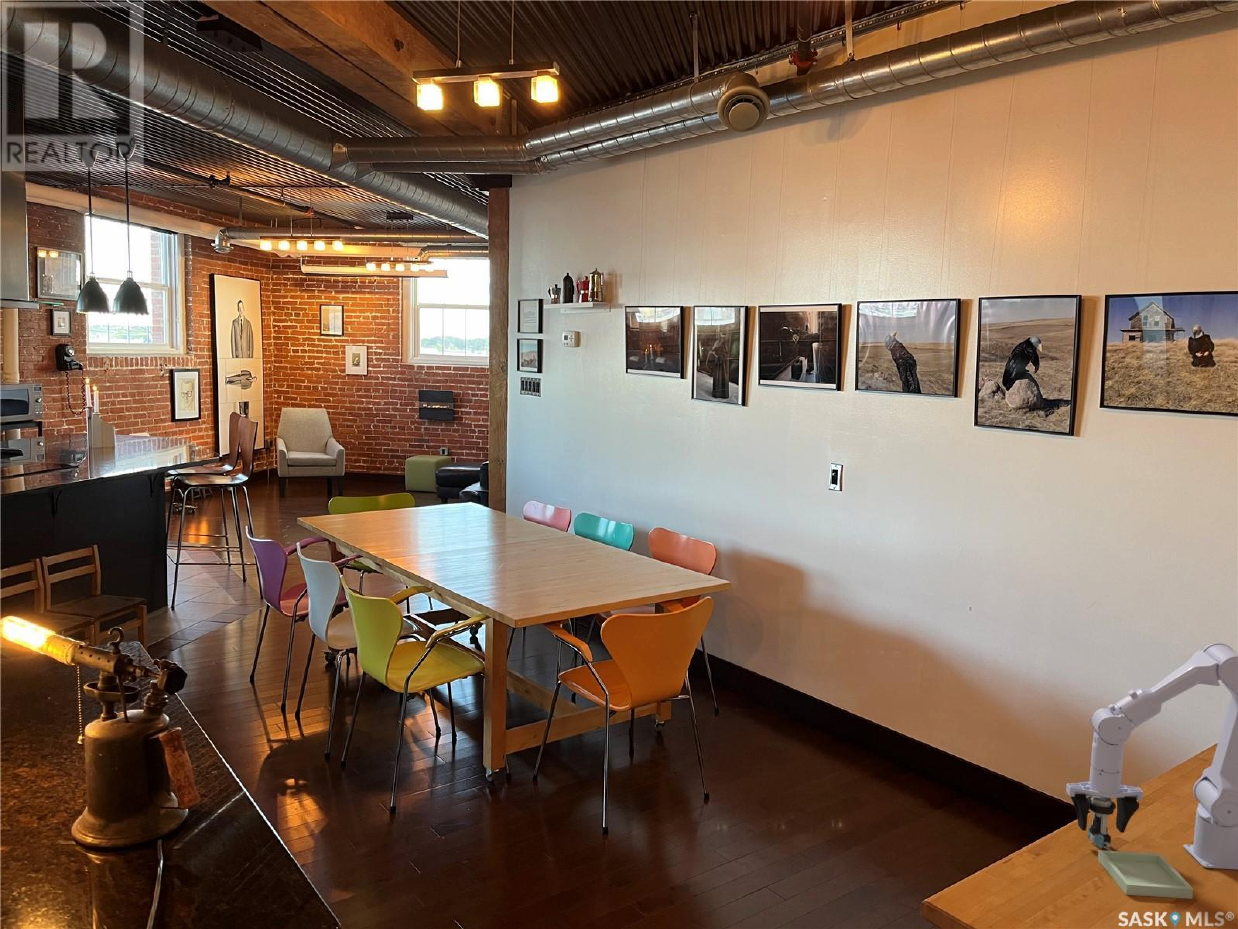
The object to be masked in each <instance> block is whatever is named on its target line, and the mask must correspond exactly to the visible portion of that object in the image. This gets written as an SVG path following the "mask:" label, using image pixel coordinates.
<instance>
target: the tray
mask: <svg viewBox="0 0 1238 929" xmlns="http://www.w3.org/2000/svg"><path fill="white" fill-rule="evenodd" d="M1097 860H1098V862H1099V863H1100V864H1101V866H1102V867H1103V868H1104V869H1105V870H1106V872H1107V873H1108V874H1109V876H1111V878H1112V879H1113V881H1114V882H1115V883H1116V884H1117V885H1118V886H1119V888H1120V889H1121V890H1122V892H1123V893H1124V894H1125V895H1127V896H1128V895H1129V896H1142V897H1143V896H1144V897H1159V898H1172V899H1173V898H1174V899H1191V900H1192V899H1193V896H1194V888H1193V887H1192V885H1190V884H1189V882H1187V881H1186V880H1185V878H1184V877H1183V876H1181V874H1180V873H1179V872H1178V871H1177V870H1176V869H1175V868H1174V867H1173V866H1172V865H1171V864H1170V862H1169V861H1168V860H1166V858H1165V857H1164V856H1163V855H1162V854H1161V853H1151V852H1149V853H1148V852H1137V851H1135V852H1133V851H1117V850H1116V851H1115V850H1112V851H1108V850H1102V849H1100V850H1099V849H1098V852H1097Z"/></svg>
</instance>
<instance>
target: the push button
mask: <svg viewBox="0 0 1238 929" xmlns="http://www.w3.org/2000/svg"><path fill="white" fill-rule="evenodd" d="M1086 798H1087V801H1088V802H1089V803H1090V804H1091V806H1090V808H1089V810H1090V811H1091V812H1092V820H1091V821H1092V822H1091V824H1090V825H1087V827H1088V828H1087V838H1088V839H1089V842H1090V843H1091V844H1093V843H1094V844H1095V845H1096V846H1097V847H1098V848H1099V849H1106V851H1113V850H1112V849H1111V848H1112V847H1113V845H1112V844H1111V842H1112V836H1111V835H1110V834H1108V833H1109V832H1108V829H1109V828H1108V817H1109V815H1113V814H1114V812H1115V810H1116V809H1117V803H1115V802H1114V801H1113V800H1112V798H1107V797H1099V796H1087V797H1086ZM1110 847H1111V848H1110Z"/></svg>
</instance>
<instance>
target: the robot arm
mask: <svg viewBox="0 0 1238 929" xmlns="http://www.w3.org/2000/svg"><path fill="white" fill-rule="evenodd" d="M1219 681H1221V683H1222V684H1223V685H1224V687H1225V688H1226V689H1227V690H1228V691H1229V693H1230V694H1231V695H1230V696H1231V697H1230V700H1229V704H1228V708H1227V711H1226V714H1225V717H1224V720H1223V724H1222V728H1221V731H1220V735H1219V737H1218V741H1217V745H1216V749H1215V752H1214V755H1213V759H1212V763H1211V765H1210V766H1208V767H1206V768H1205V769H1203V772H1202V775H1201V776H1200V778H1199V779H1197V781H1196V782H1195V783H1194V785H1193V788H1192V791H1193V796H1194V797H1195V799H1196V800H1197V801H1198V804H1197V808H1196V811H1195V812H1196V813H1195V822H1194V832H1193V833H1194V834H1193V842H1192V844H1183V848H1184V849H1185V850H1186V851H1187V852H1188V854H1190V855H1191V857H1193V858H1194V859H1195V861H1197V863H1199V864H1200V865H1201V866H1202V867H1203V868H1207V869H1224V870H1225V869H1226V870H1238V652H1237V651H1236V650H1234V649H1233V648H1232V647H1231V646H1229V645H1228V644H1225V643H1222V642H1214V643H1211V644H1208V645H1207V646H1205V647H1204V648H1203V649H1201V650H1199V651H1195V653H1193V655H1192V656H1191V657H1190V659H1189V660H1188V661H1186V662H1185V663H1184V664H1182V665H1181V666H1179V668H1177V669H1175V670H1174V671H1173V672H1171V673H1169V674H1168V675H1167V676H1166V677H1163V679H1162V680H1160V681H1159V682H1157V683H1156V684H1155V685H1153V686H1152V687H1151V688H1142V687H1139V688H1137V689H1135V690H1134V689H1131V690H1128V691H1127V695H1126V696H1124V697H1122V699H1120V700H1119V701H1116V702H1115V703H1114V704H1112V703H1110V704H1109V705H1108V706H1107V707H1105V708H1104V707H1101V708H1099V709H1097V710H1096V711H1095V712H1093V714H1092V715H1093V716H1091V717H1089V722H1090V723H1089V724H1090V726H1091V728H1093V730H1094V731H1093V737H1092V745H1091V754H1090V756H1091V757H1090V768H1089V769H1090V770H1089V771H1090V772H1089V781H1084V782H1083V781H1082V782H1075V783H1073V782H1072V783H1071V782H1070V783H1069V782H1068V783H1066V785H1065V786H1066V788H1065V792H1066V794H1067V795H1068V796H1069V797H1070V799H1071V801H1072V803H1073V806H1074V809H1075V812H1076V818H1077V825H1078V827H1079V828H1080V830H1081V831H1087V829H1088V828H1087V827H1088V815H1089V812H1090V811H1089V810H1090V809H1089V808H1090V806H1091V804H1090V803H1089V802H1088V801H1087V798H1088V797H1091V796H1099V797H1107V798H1110V799H1116V817H1115V826H1116V827H1115V828H1116V829H1117V830H1118V832H1120V833H1122V834H1124V833H1125V831H1126V828H1127V826H1128V823H1129V822H1130V820H1131V818H1132V817H1133V815H1134V814H1135V813H1136V812H1137V811H1138V810H1139V809H1140V803H1139V802H1138V801H1143V796H1144V791H1143V790H1142V789H1141V788H1140V787H1139V786H1130V785H1124V784H1122V774H1123V763H1124V761H1123V760H1124V747H1125V746H1124V745H1125V742H1127V741H1128V740H1129V739H1130V736H1131V734H1132V731H1134V730H1135V729H1136V728H1138V727H1140V726H1141V725H1143V724H1144V723H1146V722H1147V721H1149V720H1150V719H1153V718H1154V717H1156V716H1157V715H1158V714H1160V713H1161V710H1162V705H1163V704H1164V703H1166V702H1168V701H1170V700H1172V699H1173V698H1175V697H1177V696H1179V695H1180V694H1183V693H1184V692H1186V691H1188V690H1190V689H1192V688H1194V687H1195V686H1197V685H1206V686H1212V687H1213V686H1215V687H1220V686H1221V685H1220V683H1219Z"/></svg>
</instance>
